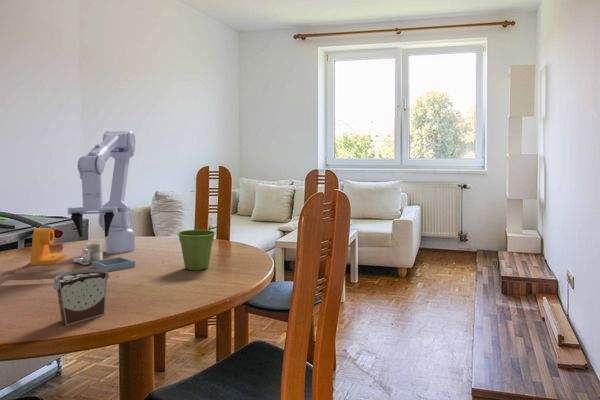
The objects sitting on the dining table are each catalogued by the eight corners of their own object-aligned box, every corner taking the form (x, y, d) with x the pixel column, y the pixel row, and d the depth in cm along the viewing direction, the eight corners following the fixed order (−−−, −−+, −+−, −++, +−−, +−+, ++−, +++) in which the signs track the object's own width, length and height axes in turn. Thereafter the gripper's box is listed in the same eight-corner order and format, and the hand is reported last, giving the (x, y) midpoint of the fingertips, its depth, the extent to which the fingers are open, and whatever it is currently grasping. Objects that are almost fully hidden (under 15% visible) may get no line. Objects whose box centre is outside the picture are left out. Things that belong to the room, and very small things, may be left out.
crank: (71, 261, 166) (70, 246, 166) (81, 260, 168) (80, 245, 168) (83, 266, 160) (83, 250, 159) (93, 264, 162) (92, 249, 161)
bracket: (55, 268, 164) (53, 230, 163) (31, 269, 163) (29, 231, 162) (66, 261, 174) (65, 225, 173) (43, 261, 174) (42, 226, 172)
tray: (121, 266, 166) (120, 256, 166) (135, 270, 160) (134, 261, 160) (92, 270, 160) (92, 261, 160) (106, 275, 154) (105, 265, 153)
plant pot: (183, 274, 156) (182, 236, 154) (173, 266, 166) (172, 231, 165) (221, 269, 161) (221, 233, 160) (209, 262, 171) (209, 228, 170)
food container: (94, 308, 122) (92, 265, 121) (110, 312, 119) (109, 269, 118) (43, 322, 112) (40, 276, 111) (59, 327, 109) (57, 280, 108)
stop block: (86, 263, 165) (86, 244, 164) (89, 260, 169) (89, 242, 168) (100, 263, 165) (99, 244, 165) (102, 260, 169) (102, 241, 169)
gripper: (64, 195, 160) (66, 239, 161) (114, 194, 162) (115, 237, 164) (70, 193, 167) (72, 235, 168) (117, 192, 169) (119, 234, 170)
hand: (93, 236), depth 166 cm, fingers open, 7 cm apart
